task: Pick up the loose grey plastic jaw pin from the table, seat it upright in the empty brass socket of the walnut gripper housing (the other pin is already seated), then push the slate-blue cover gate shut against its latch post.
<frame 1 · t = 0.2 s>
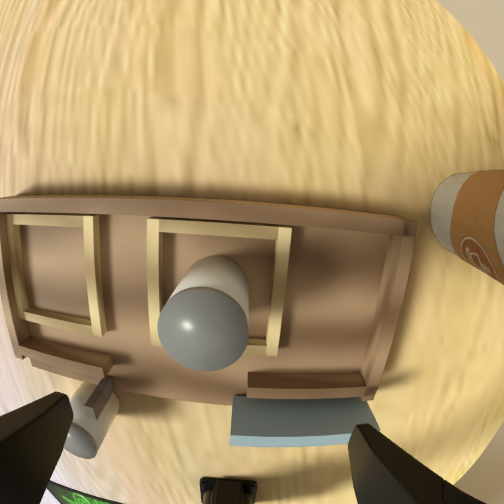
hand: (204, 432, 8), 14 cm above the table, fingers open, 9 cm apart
coffee cup: (455, 212, 21), on the table
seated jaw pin: (215, 287, 20), point 1 cm above the table, touching housing
housing: (145, 290, 22), on the table
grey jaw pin: (99, 397, 24), on the table
cover gate: (303, 425, 21), point 4 cm above the table, slide at 0.0 cm
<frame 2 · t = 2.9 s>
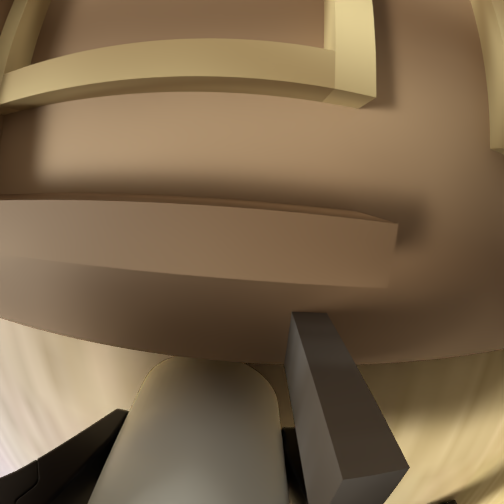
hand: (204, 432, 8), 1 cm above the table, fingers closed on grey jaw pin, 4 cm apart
housing: (437, 44, 6), on the table
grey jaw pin: (208, 409, 9), on the table, touching gripper
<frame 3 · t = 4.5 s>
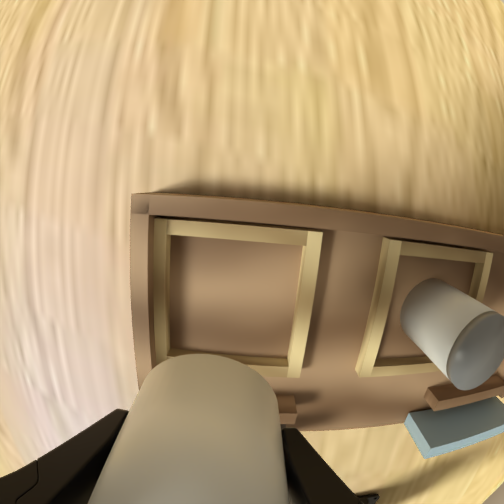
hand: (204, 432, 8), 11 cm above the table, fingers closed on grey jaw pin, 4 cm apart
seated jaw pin: (427, 309, 18), point 1 cm above the table, touching housing
housing: (347, 318, 19), on the table
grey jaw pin: (207, 410, 9), point 10 cm above the table, touching gripper
cover gate: (463, 427, 18), point 4 cm above the table, slide at 0.0 cm
when the fingers open (4 cm above the table, at t = 6.2 s): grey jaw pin drops 2 cm, resting on housing.
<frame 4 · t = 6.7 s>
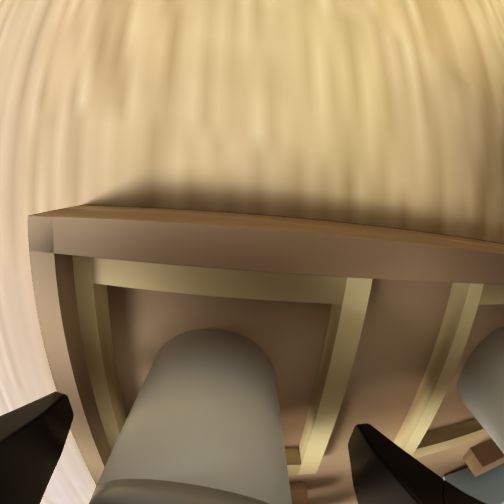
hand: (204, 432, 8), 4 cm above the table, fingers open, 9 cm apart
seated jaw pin: (489, 366, 10), point 1 cm above the table, touching housing
housing: (387, 386, 12), on the table
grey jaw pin: (213, 381, 10), point 1 cm above the table, touching housing
cover gate: (500, 482, 11), point 4 cm above the table, slide at 0.0 cm
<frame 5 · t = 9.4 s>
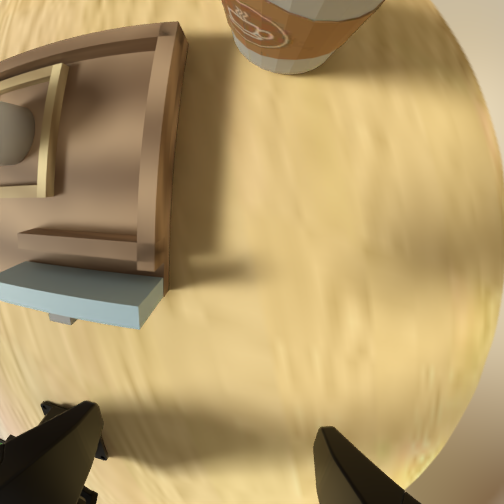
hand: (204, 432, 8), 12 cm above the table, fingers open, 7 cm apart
coffee cup: (283, 37, 16), on the table
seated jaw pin: (14, 135, 16), point 1 cm above the table, touching housing
cover gate: (68, 296, 16), point 4 cm above the table, slide at 0.0 cm
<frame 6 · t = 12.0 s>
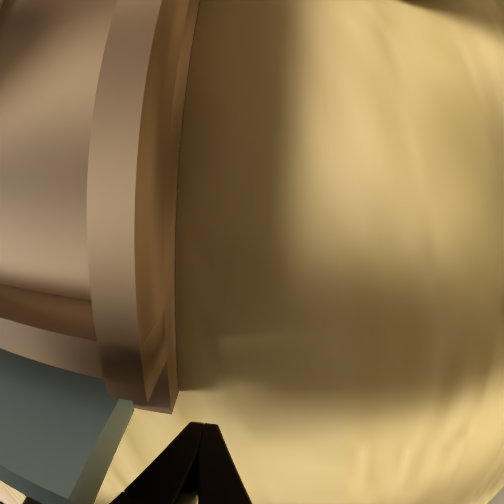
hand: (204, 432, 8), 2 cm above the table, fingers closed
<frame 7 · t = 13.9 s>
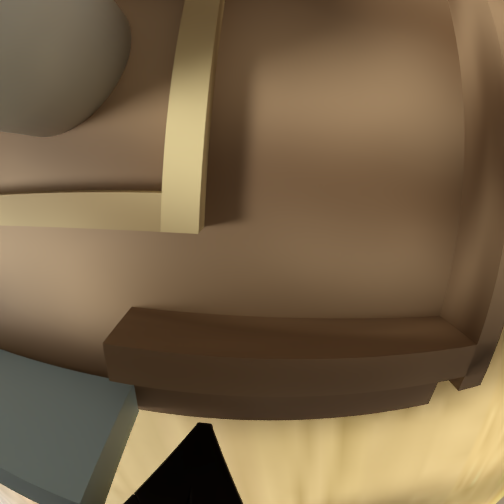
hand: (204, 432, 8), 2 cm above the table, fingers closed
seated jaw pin: (61, 63, 6), point 1 cm above the table, touching housing
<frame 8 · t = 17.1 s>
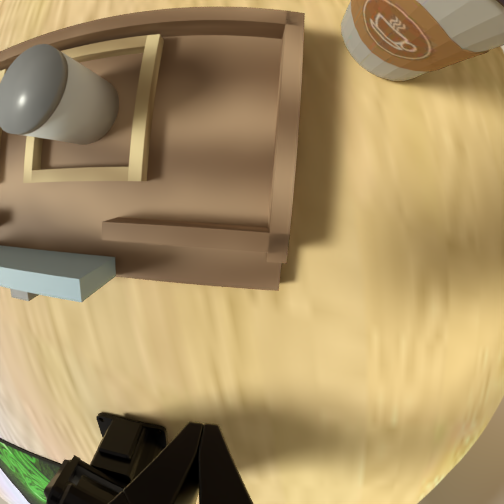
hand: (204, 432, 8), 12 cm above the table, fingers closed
coffee cup: (381, 44, 16), on the table
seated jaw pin: (88, 110, 15), point 1 cm above the table, touching housing
housing: (36, 138, 17), on the table
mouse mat: (51, 493, 28), on the table
cover gate: (29, 275, 15), point 4 cm above the table, slide at 10.0 cm
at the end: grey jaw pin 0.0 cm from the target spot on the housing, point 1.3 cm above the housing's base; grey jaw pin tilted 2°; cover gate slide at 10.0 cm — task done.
